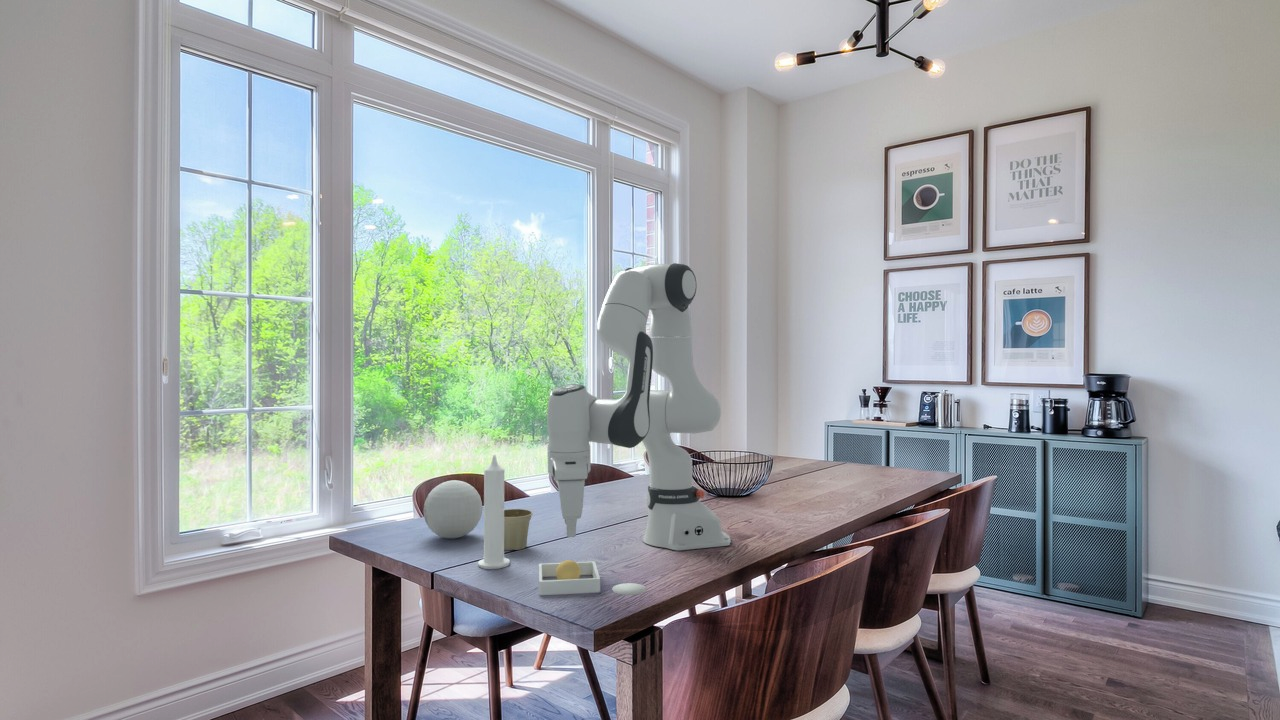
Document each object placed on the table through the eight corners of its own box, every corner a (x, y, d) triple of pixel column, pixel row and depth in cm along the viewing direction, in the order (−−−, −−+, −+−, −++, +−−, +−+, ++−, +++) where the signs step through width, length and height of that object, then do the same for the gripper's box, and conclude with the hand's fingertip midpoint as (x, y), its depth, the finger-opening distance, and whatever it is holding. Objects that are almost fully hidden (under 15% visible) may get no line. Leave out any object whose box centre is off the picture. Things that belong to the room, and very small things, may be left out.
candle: (480, 560, 155) (481, 452, 155) (511, 559, 156) (511, 452, 156) (475, 569, 148) (476, 457, 148) (507, 569, 148) (508, 456, 149)
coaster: (643, 584, 138) (643, 582, 138) (649, 595, 132) (649, 593, 132) (610, 585, 137) (610, 583, 137) (614, 597, 130) (614, 595, 130)
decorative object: (443, 529, 185) (444, 474, 185) (492, 532, 181) (492, 477, 181) (411, 542, 170) (411, 484, 170) (463, 547, 166) (463, 487, 166)
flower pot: (524, 553, 161) (524, 517, 161) (487, 551, 162) (488, 516, 163) (538, 543, 170) (538, 509, 170) (503, 541, 172) (503, 508, 172)
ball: (579, 579, 140) (579, 556, 140) (581, 588, 135) (581, 563, 135) (555, 581, 140) (555, 557, 139) (556, 589, 135) (556, 565, 135)
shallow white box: (594, 575, 144) (594, 561, 144) (600, 593, 132) (600, 578, 132) (538, 577, 142) (538, 563, 142) (539, 597, 131) (539, 581, 131)
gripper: (552, 455, 148) (553, 517, 148) (555, 473, 128) (556, 545, 128) (581, 454, 149) (582, 515, 149) (588, 472, 128) (589, 543, 129)
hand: (570, 529), depth 138 cm, fingers open, 8 cm apart
